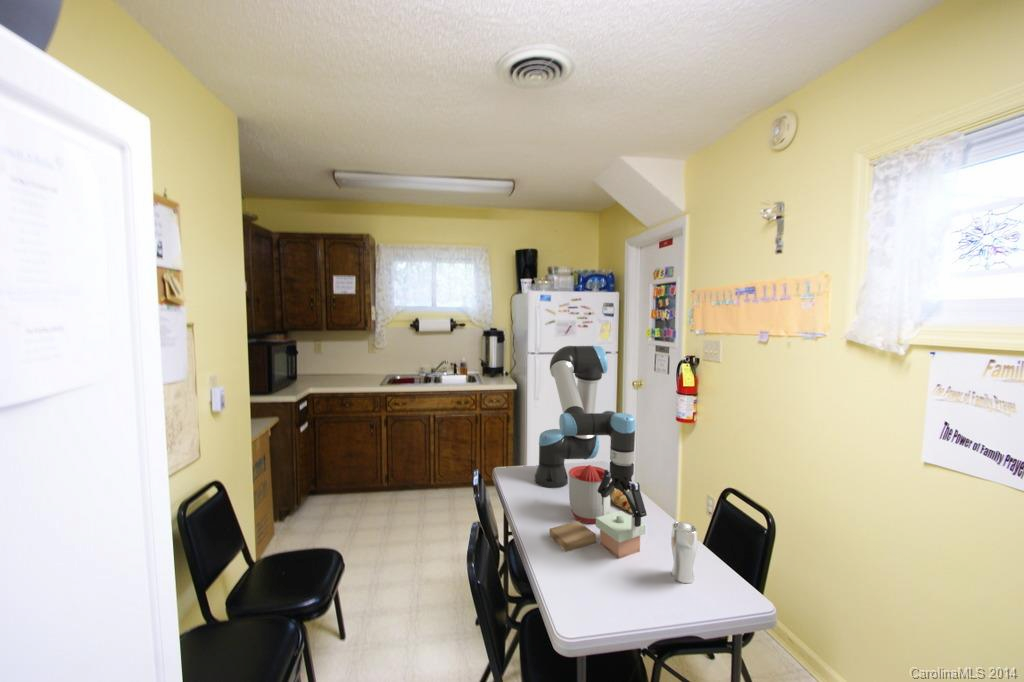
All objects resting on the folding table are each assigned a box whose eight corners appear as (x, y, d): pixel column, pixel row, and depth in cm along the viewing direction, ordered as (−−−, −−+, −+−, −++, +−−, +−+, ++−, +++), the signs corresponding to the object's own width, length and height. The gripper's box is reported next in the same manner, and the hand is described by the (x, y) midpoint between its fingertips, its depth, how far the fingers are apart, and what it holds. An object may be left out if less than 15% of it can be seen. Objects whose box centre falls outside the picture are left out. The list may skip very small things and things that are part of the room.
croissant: (641, 523, 159) (651, 505, 159) (620, 513, 157) (630, 495, 157) (617, 498, 180) (625, 482, 180) (598, 489, 178) (607, 473, 178)
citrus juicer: (615, 529, 147) (616, 475, 146) (566, 524, 151) (567, 470, 149) (613, 509, 163) (615, 460, 161) (569, 505, 166) (570, 456, 165)
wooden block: (549, 537, 142) (549, 528, 142) (577, 529, 148) (577, 520, 147) (566, 551, 133) (566, 542, 133) (595, 542, 139) (595, 534, 139)
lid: (595, 526, 138) (596, 514, 137) (620, 519, 143) (621, 507, 143) (618, 542, 128) (619, 529, 128) (644, 534, 133) (645, 521, 133)
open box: (599, 544, 138) (600, 527, 137) (620, 538, 142) (620, 521, 141) (618, 558, 130) (619, 540, 129) (639, 551, 134) (640, 533, 134)
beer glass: (674, 566, 126) (676, 518, 125) (698, 576, 121) (700, 526, 121) (666, 577, 120) (668, 527, 120) (691, 587, 116) (693, 536, 115)
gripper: (588, 451, 143) (586, 511, 145) (641, 477, 121) (639, 547, 123) (605, 448, 147) (603, 506, 148) (660, 473, 125) (657, 540, 126)
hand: (619, 525), depth 136 cm, fingers open, 13 cm apart
